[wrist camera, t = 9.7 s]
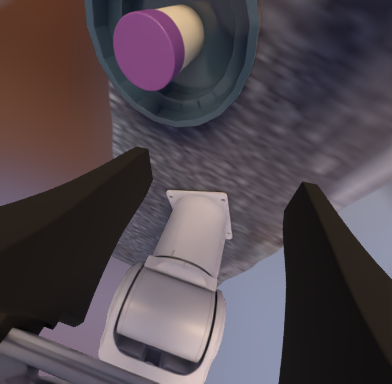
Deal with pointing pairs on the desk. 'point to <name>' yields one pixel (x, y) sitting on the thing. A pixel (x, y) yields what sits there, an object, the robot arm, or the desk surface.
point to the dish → (197, 69)
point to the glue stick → (157, 44)
